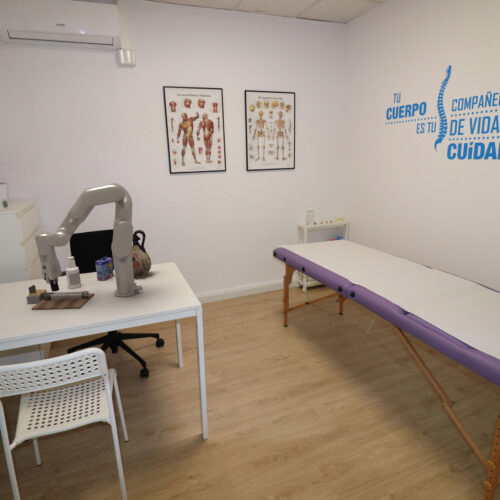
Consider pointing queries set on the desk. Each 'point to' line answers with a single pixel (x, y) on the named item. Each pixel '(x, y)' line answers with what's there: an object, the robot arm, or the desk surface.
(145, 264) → the ceramic jug
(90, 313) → the desk surface
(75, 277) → the spray bottle
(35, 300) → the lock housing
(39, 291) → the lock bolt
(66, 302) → the tong board
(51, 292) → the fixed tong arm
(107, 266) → the ink cartridge box
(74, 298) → the tong arm
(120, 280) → the robot arm
